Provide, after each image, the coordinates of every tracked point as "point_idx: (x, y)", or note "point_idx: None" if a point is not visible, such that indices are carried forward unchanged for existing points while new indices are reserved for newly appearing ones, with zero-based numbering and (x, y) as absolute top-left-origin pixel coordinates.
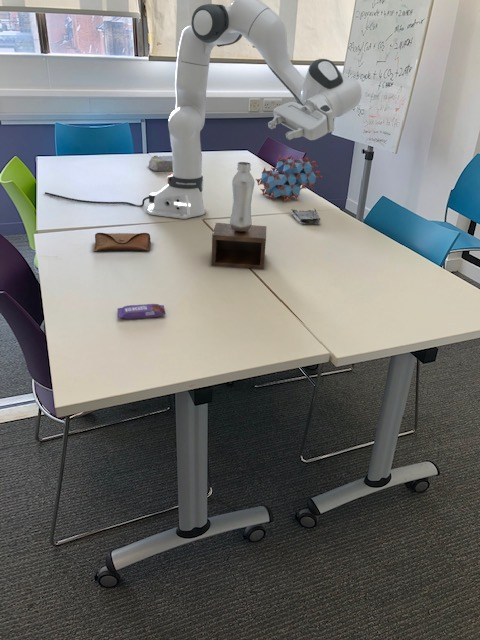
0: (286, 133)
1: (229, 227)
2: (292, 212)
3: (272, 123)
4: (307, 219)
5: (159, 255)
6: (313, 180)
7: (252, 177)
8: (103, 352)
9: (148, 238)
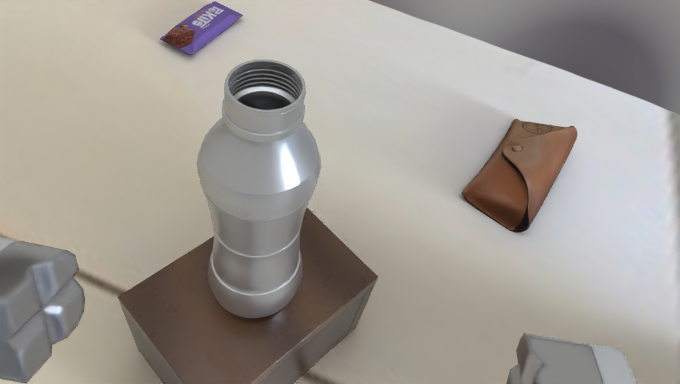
0: (53, 249)
1: (305, 278)
2: None
3: (542, 370)
4: None
5: (425, 200)
6: None
7: (213, 157)
8: None
9: (510, 207)
